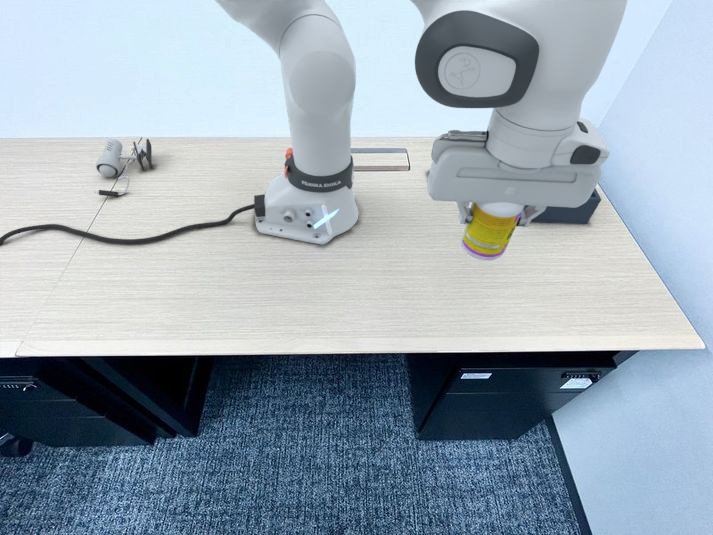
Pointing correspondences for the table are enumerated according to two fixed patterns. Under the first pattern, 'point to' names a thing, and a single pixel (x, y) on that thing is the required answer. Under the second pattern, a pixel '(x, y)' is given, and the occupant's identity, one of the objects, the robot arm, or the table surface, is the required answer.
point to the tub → (569, 212)
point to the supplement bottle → (491, 228)
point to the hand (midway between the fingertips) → (492, 222)
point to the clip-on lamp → (111, 164)
